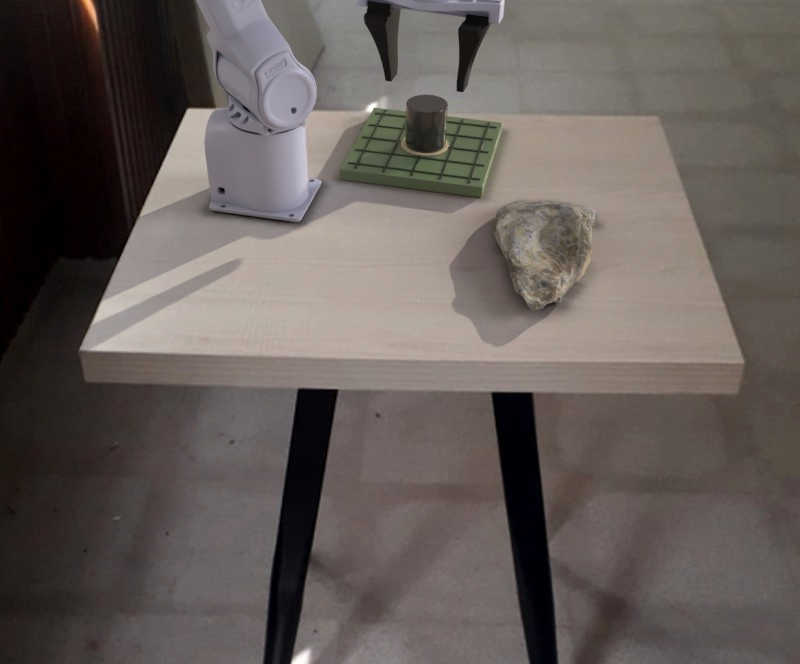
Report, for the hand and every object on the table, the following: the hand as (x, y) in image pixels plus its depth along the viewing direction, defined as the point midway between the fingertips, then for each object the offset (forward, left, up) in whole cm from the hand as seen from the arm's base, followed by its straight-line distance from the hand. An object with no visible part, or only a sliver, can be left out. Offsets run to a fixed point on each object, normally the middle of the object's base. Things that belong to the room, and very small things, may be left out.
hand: (426, 82), depth 99 cm
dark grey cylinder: (0, 0, -7) cm, 7 cm away
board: (0, 0, -8) cm, 8 cm away
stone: (+15, -17, -8) cm, 24 cm away
